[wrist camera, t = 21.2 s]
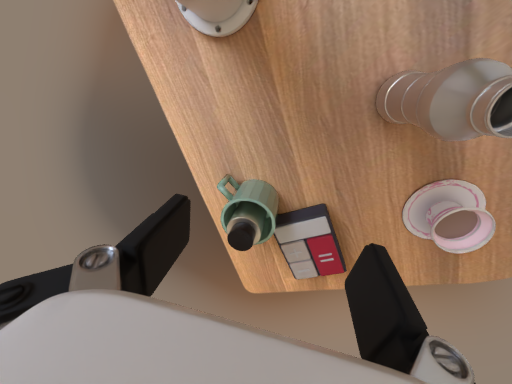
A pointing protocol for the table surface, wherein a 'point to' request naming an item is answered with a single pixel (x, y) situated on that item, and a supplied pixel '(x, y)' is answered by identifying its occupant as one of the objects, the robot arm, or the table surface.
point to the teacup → (450, 215)
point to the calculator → (309, 242)
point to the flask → (246, 225)
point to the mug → (253, 193)
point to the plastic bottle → (452, 100)
